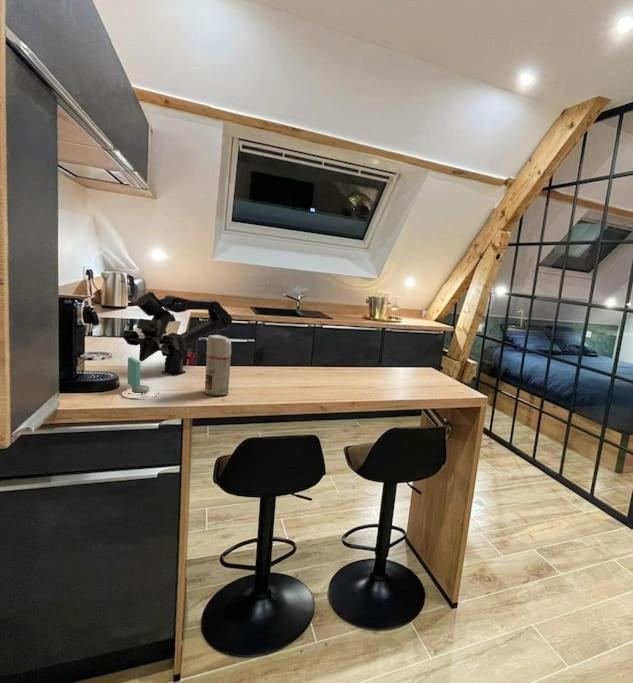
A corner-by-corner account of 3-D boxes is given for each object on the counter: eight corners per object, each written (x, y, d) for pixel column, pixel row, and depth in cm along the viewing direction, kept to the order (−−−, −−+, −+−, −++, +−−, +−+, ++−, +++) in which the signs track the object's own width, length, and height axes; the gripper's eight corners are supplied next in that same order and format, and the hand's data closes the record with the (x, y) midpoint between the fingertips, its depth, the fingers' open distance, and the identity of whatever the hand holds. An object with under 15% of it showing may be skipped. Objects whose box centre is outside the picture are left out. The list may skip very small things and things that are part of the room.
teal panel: (151, 391, 129) (152, 364, 127) (136, 394, 125) (136, 366, 123) (137, 382, 136) (137, 356, 134) (121, 384, 132) (122, 358, 131)
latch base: (134, 386, 135) (134, 384, 135) (165, 390, 133) (165, 389, 133) (114, 396, 124) (114, 394, 124) (147, 401, 123) (147, 399, 123)
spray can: (202, 389, 139) (205, 332, 135) (226, 388, 142) (230, 333, 138) (205, 397, 131) (208, 337, 128) (230, 396, 134) (234, 338, 131)
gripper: (125, 306, 138) (104, 343, 129) (176, 313, 136) (158, 351, 127) (138, 326, 147) (119, 361, 138) (185, 332, 145) (169, 369, 136)
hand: (140, 360), depth 135 cm, fingers closed
